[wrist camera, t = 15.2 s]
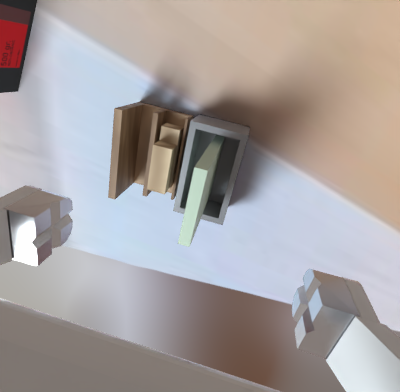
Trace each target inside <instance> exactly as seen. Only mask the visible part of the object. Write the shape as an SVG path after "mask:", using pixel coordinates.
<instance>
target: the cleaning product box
mask: <svg viewBox="0 0 400 392" xmlns="http://www.w3.org/2000/svg"><path fill="white" fill-rule="evenodd" d="M36 3H37V0H0V93H4V92H16V91H18V88H19V84H20V79H21V74H22V69H23V65H24V60H25V55H26V50H27V46H28V41H29V36H30V31H31V27H32V22H33V17H34V12H35V8H36Z"/></svg>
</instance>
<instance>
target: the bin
mask: <svg viewBox="0 0 400 392" xmlns="http://www.w3.org/2000/svg"><path fill="white" fill-rule="evenodd" d="M249 131H250V127H248V126H244V125H240V124H236V123H232V122H228V121H224V120H220V119H216V118H212V117H208V116H205V115H201V114H199V115H198V116H196V117H195V118H194V119H192V120H191V121H190V127H189V132H188V137H187V142H186V147H185V152H184V158H183V163H182V168H181V173H180V178H179V184H178V189H177V194H176V199H175V204H174V209H173V211H175V212H179V213H182V214H184V213H185V208H186V204H187V199H188V194H189V190H190V185H191V180H192V176H193V171H194V167H195V165H196V164H197V162H198V161H199V159H200V158H201V156H202V155H203V153H204V152H205V150H206V149H207V147H208V146H209V145H210V143H211V142H212V140H213V139H214V137H215V136H216V135H219V136H223V137H225V139H224V143H223V147H222V151H221V155H220V158H219V162H218V166H217V170H216V174H215V178H214V182H213V186H212V190H211V194H210V196H209V199H208V201H207V204H206V206H205V209H204V211H203V214H202V216H201V219H203V220H207V221H210V222H214V223H217V224H221V225H223V222H224V218H225V215H226V212H227V208H228V205H229V201H230V198H231V195H232V191H233V188H234V184H235V181H236V177H237V174H238V171H239V167H240V164H241V160H242V157H243V154H244V150H245V147H246V143H247V140H248V137H249Z"/></svg>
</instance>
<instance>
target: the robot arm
mask: <svg viewBox="0 0 400 392" xmlns="http://www.w3.org/2000/svg"><path fill="white" fill-rule="evenodd" d="M72 210H73V209H72V200H71V199H70V198H68V197H65V196H62V195H59V194H56V193H52V192H49V191H46V190H42V189H40V188H36V187H33V186H23V187H21V188H19V189H17V190H15V191H13V192H11V193H9V194H7V195H5V196H3V197H1V198H0V265H2V264H4V263H7V262H10V261H12V259H14V260H18V261H21V262H24V263H28V264H31V265H35V266H38V265H40V264H41V263H42V262H43V261H44V260H45V259H46V258H47V257H49V256H50V255H51V254H52V248H55V247H58V246H61V245H62V244H63V243H64V242H66V241H67V239H68V237H69V235H70V234H71V230H72V219H71V218H70V216H69V213H70V212H71V211H72ZM303 281H304V285H303V286H301V287H299V288H298V289H297V291H296V293H295V295H294V299H293V303H292V315H293V319H294V320H295V321H296V322H297V326H296V328H295V337H296V343H297V349H299V350H301V351H304V352H307V353H310V354H313V355H316V356H319V357H322V358H324V359H327V360H326V361H327V363H328V364H329V366H330V368H331V369H332V371H333V372H334V374H335V375H336V377H337V378H338V380H339V381H340V383H341V384H342V386H343V388H344V389H345V391H346V392H400V337H398V336H397V335H396V334H395V333H394V332H393V331H392V330H391V329H390V328H389V327H387V326H386V325H384V324H381V323H380V322H379V320H378V318H377V315H376V313H375V311H374V309H373V307H372V305H371V303H370V301H369V299H368V297H367V295H366V293H365V291H364V289H363V287H362V285H361V284H360V283H359V282H358V281H354V280H350V279H346V278H343V277H338V276H334V275H330V274H327V273H323V272H320V271H316V270H312V269H308V270H307V271H306V273H305V275H304V277H303ZM0 392H281V391H278V390H275V389H271V388H269V387H265V386H263V385H260V384H257V383H254V382H251V381H247V380H244V379H242V378H238V377H236V376H233V375H229V374H227V373H224V372H221V371H218V370H215V369H212V368H209V367H206V366H203V365H200V364H197V363H193V362H191V361H188V360H185V359H182V358H179V357H176V356H173V355H170V354H167V353H164V352H161V351H158V350H155V349H152V348H149V347H146V346H143V345H140V344H137V343H134V342H131V341H128V340H125V339H122V338H119V337H115V336H113V335H110V334H107V333H104V332H101V331H98V330H95V329H91V328H89V327H86V326H82V325H80V324H77V323H74V322H71V321H67V320H65V319H62V318H58V317H56V316H53V315H50V314H46V313H44V312H41V311H38V310H34V309H32V308H29V307H26V306H23V305H19V304H16V303H13V302H11V301H8V300H5V299H1V298H0Z"/></svg>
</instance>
